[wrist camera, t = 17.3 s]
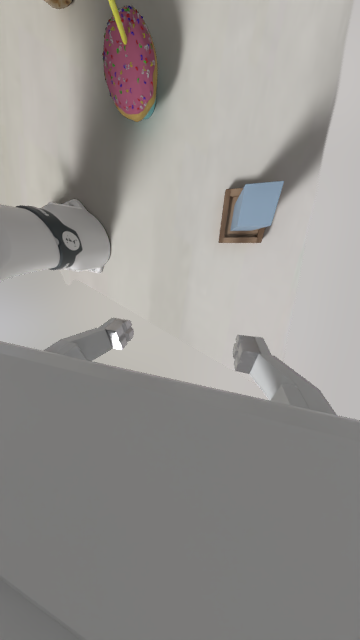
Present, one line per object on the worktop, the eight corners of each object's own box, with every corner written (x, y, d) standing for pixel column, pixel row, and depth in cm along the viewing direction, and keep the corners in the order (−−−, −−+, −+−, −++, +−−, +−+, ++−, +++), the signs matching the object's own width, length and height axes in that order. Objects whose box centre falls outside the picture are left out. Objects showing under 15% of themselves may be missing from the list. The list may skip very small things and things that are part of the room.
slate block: (230, 231, 29) (237, 226, 19) (234, 204, 27) (245, 184, 17) (251, 230, 28) (270, 225, 18) (258, 203, 26) (284, 180, 16)
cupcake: (134, 33, 20) (57, -162, 10) (176, 82, 22) (142, -48, 12) (116, 112, 25) (52, 30, 15) (152, 149, 26) (113, 95, 17)
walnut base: (218, 242, 32) (218, 242, 30) (225, 193, 27) (225, 189, 25) (257, 242, 30) (261, 242, 28) (272, 189, 25) (277, 185, 23)
